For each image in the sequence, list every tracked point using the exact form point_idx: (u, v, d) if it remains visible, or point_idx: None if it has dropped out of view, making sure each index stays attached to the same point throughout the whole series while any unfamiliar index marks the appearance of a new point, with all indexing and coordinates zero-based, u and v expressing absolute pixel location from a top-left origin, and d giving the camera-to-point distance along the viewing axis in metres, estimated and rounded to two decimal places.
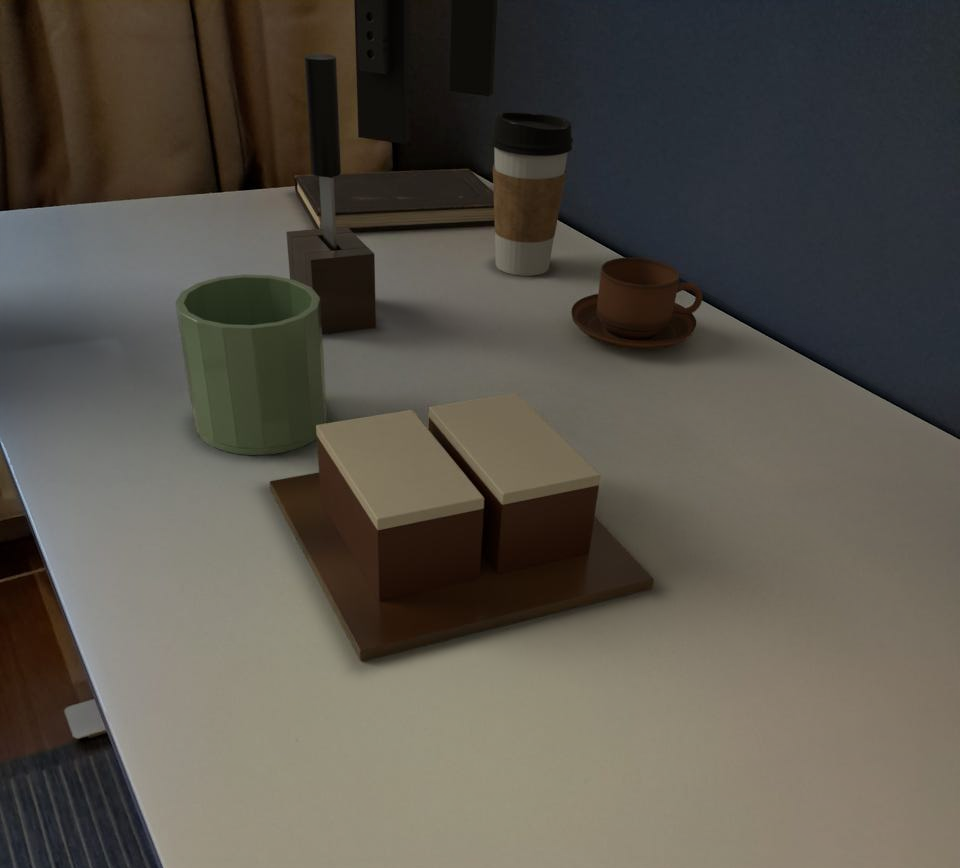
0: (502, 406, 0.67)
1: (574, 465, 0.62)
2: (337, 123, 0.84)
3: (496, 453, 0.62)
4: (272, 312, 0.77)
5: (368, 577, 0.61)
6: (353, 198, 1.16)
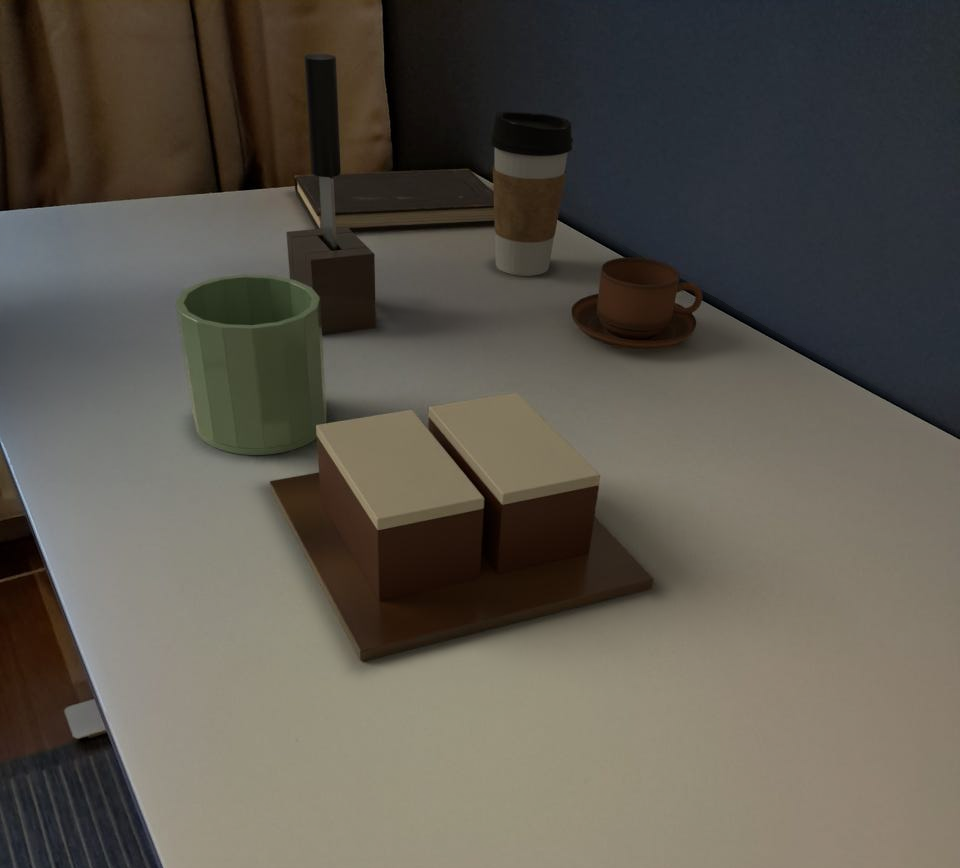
0: (502, 406, 0.67)
1: (574, 465, 0.62)
2: (337, 123, 0.84)
3: (496, 453, 0.62)
4: (272, 312, 0.77)
5: (368, 577, 0.61)
6: (353, 198, 1.16)
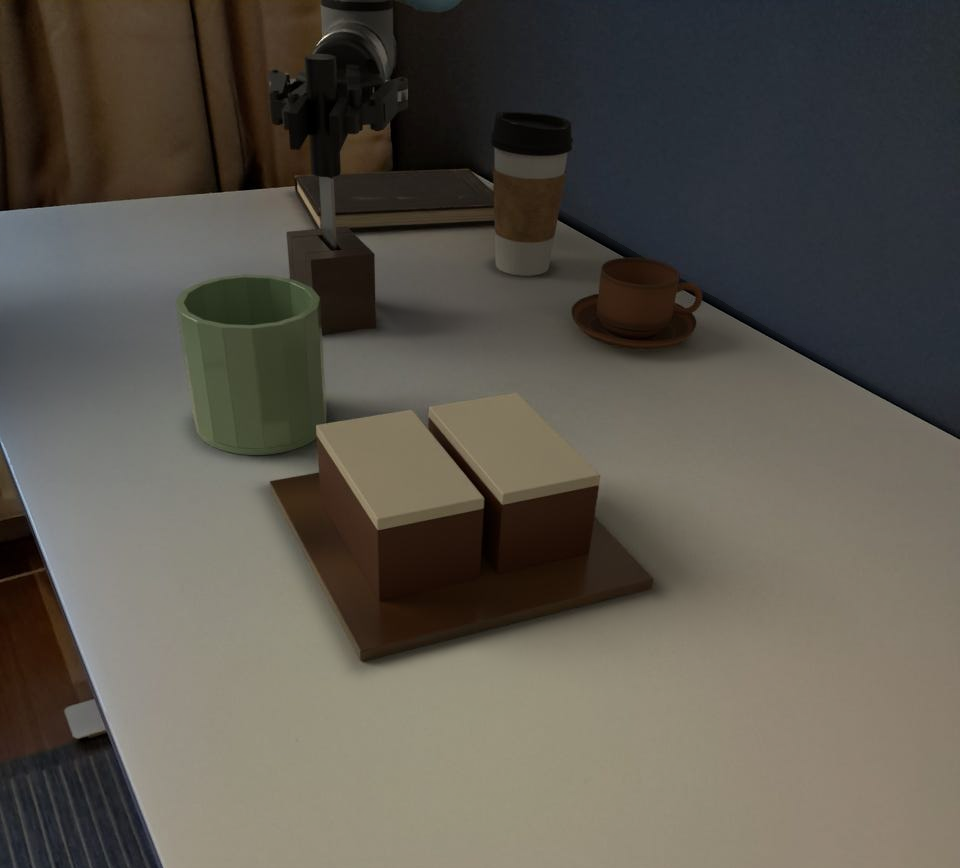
0: (502, 406, 0.67)
1: (574, 465, 0.62)
2: None
3: (496, 453, 0.62)
4: (272, 312, 0.77)
5: (368, 577, 0.61)
6: (354, 198, 1.16)
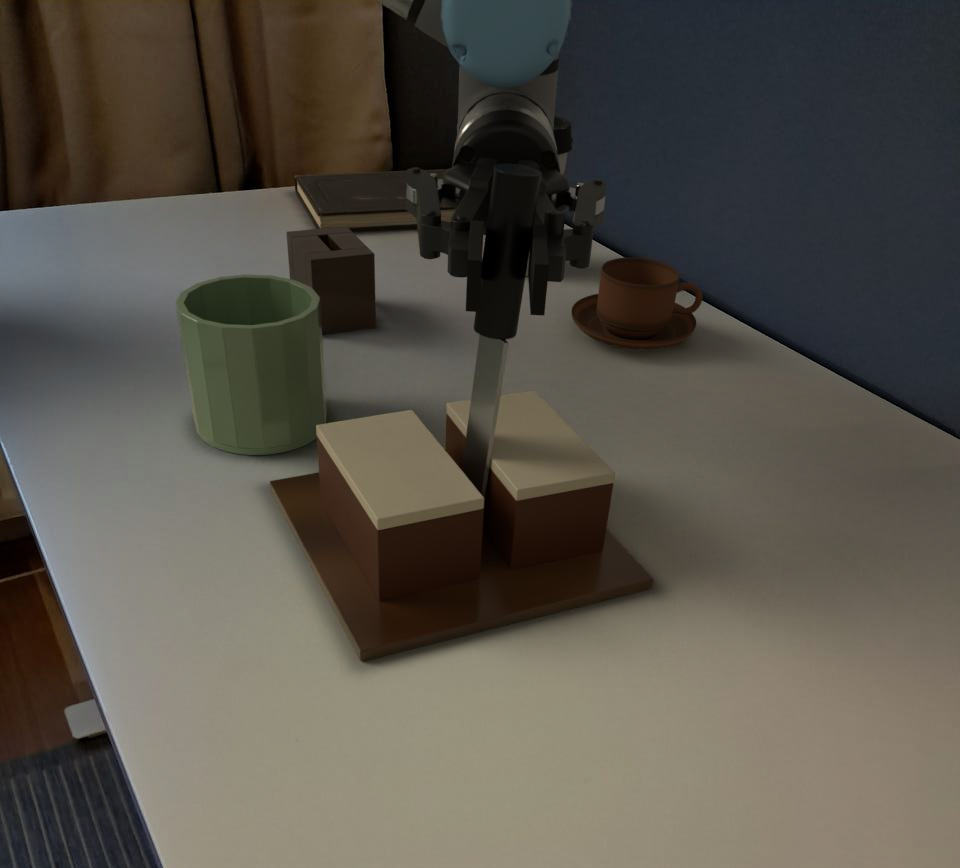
0: (519, 403, 0.68)
1: (589, 463, 0.62)
2: (526, 266, 0.56)
3: (511, 449, 0.63)
4: (272, 312, 0.77)
5: (368, 577, 0.61)
6: (354, 198, 1.16)
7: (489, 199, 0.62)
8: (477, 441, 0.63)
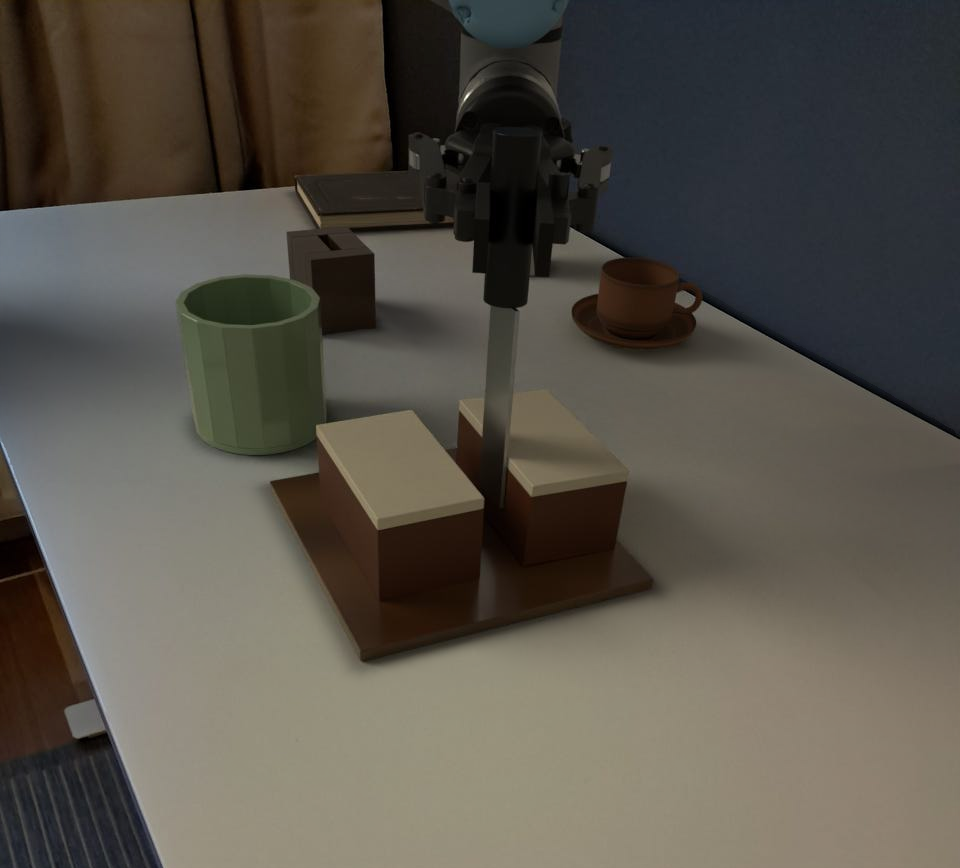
0: (532, 401, 0.68)
1: (603, 461, 0.62)
2: (532, 230, 0.54)
3: (526, 446, 0.63)
4: (272, 312, 0.77)
5: (368, 577, 0.61)
6: (354, 198, 1.16)
7: None
8: (495, 416, 0.61)
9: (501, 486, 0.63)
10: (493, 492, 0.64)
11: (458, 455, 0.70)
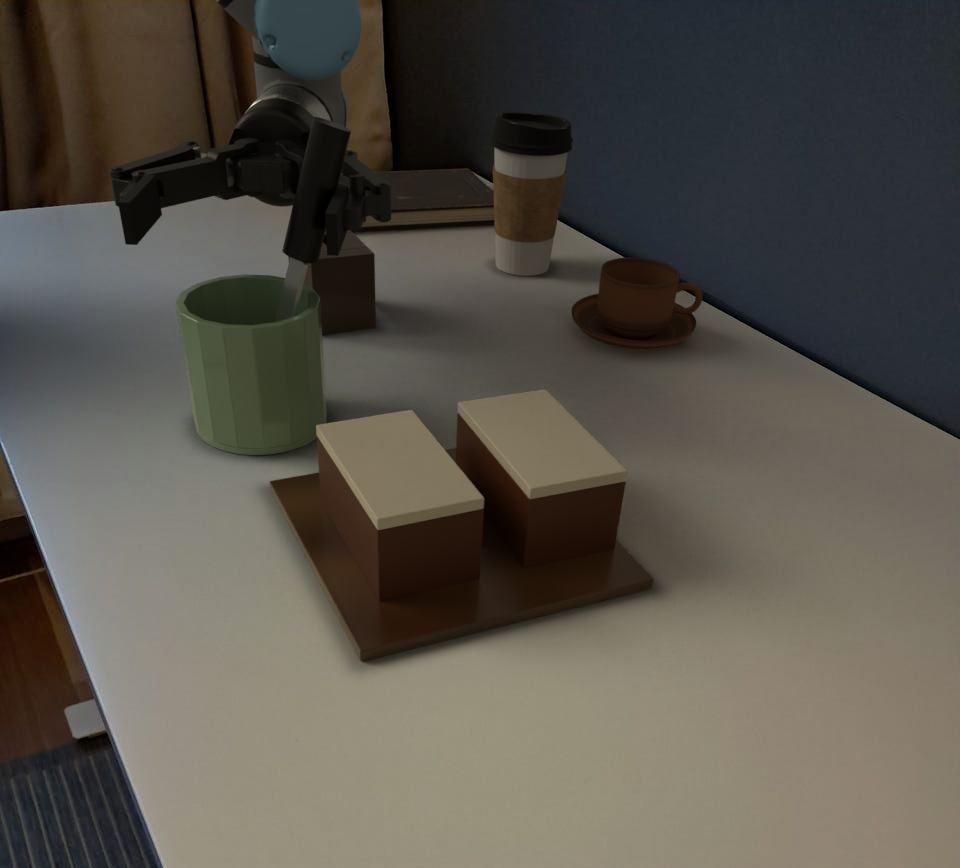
0: (530, 402, 0.68)
1: (601, 462, 0.62)
2: None
3: (524, 448, 0.63)
4: (272, 312, 0.77)
5: (368, 577, 0.61)
6: None
7: (247, 172, 0.74)
8: None
9: None
10: None
11: (457, 457, 0.70)
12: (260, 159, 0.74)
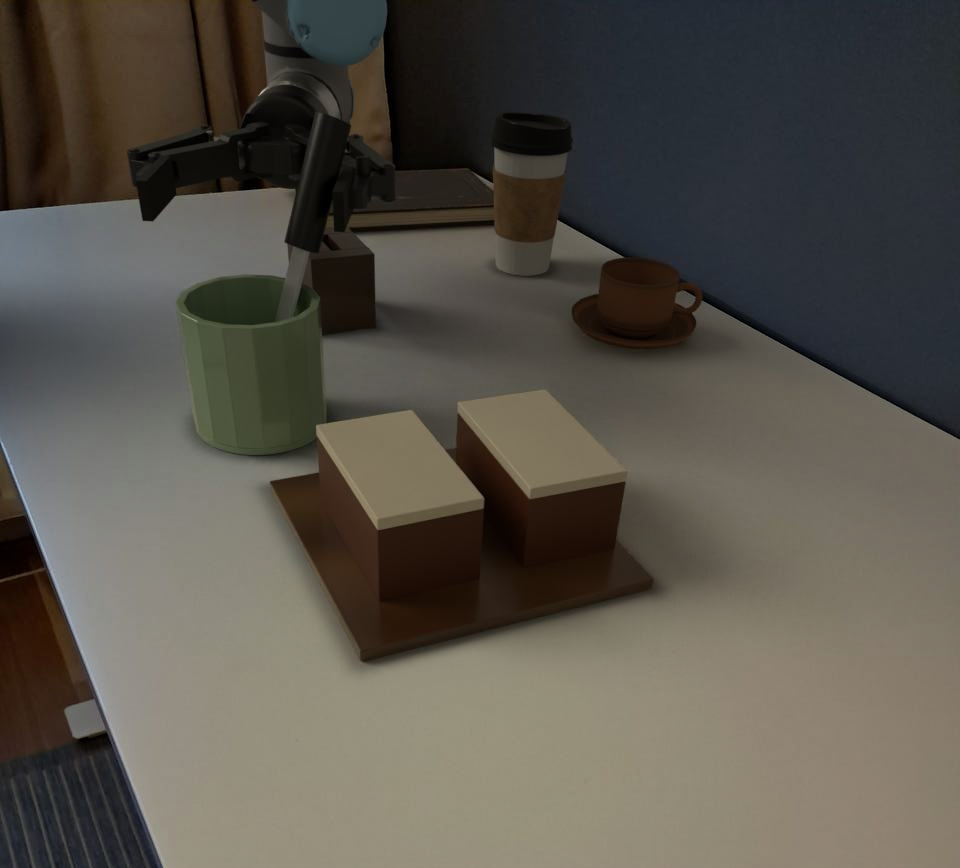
0: (530, 402, 0.68)
1: (601, 462, 0.62)
2: (331, 195, 0.70)
3: (524, 448, 0.63)
4: (272, 312, 0.77)
5: (368, 577, 0.61)
6: None
7: (258, 155, 0.77)
8: None
9: None
10: None
11: (457, 457, 0.70)
12: (270, 142, 0.77)
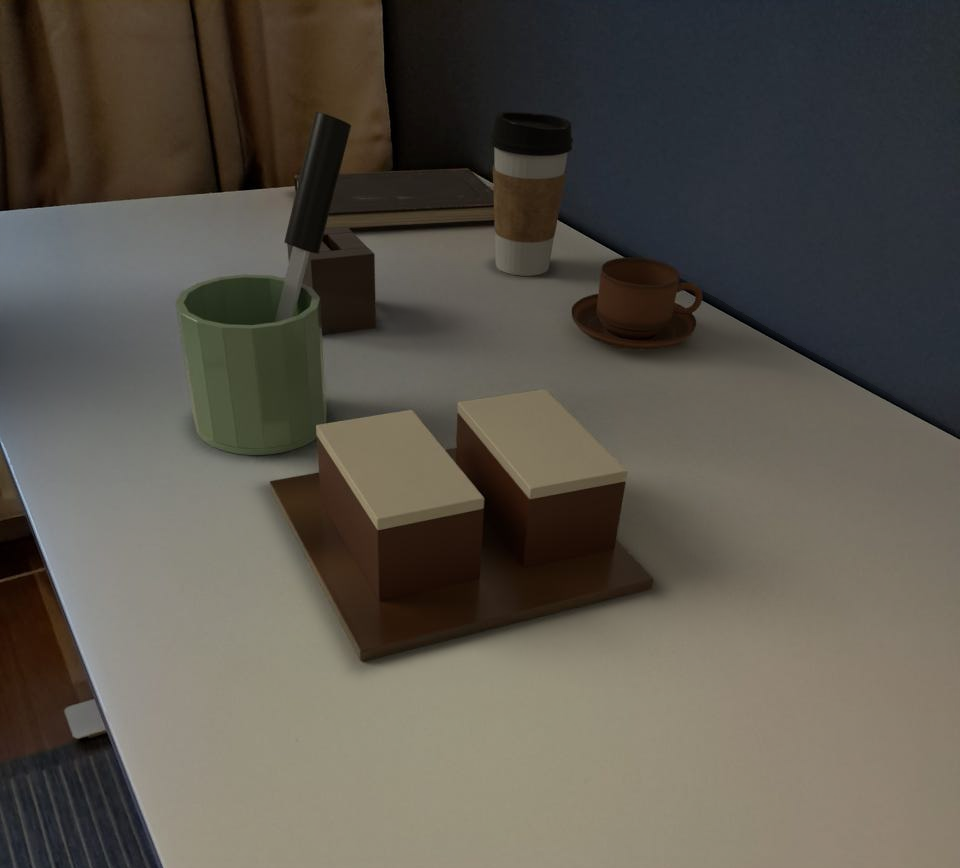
0: (530, 402, 0.68)
1: (601, 462, 0.62)
2: (331, 195, 0.70)
3: (524, 448, 0.63)
4: (272, 312, 0.77)
5: (368, 577, 0.61)
6: (354, 197, 1.16)
7: None
8: None
9: None
10: None
11: (457, 457, 0.70)
12: None
